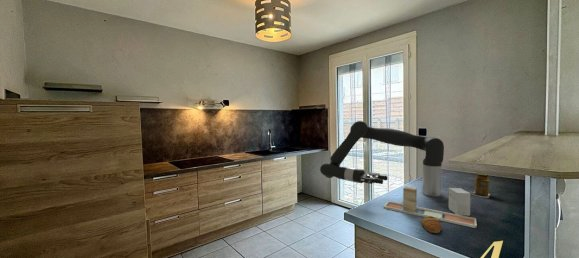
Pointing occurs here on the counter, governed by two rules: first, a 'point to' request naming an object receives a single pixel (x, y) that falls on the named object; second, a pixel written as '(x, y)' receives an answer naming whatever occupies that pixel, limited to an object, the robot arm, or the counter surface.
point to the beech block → (409, 198)
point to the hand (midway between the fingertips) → (385, 180)
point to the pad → (433, 214)
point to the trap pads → (444, 218)
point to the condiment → (481, 185)
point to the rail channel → (434, 216)
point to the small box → (459, 201)
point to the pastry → (431, 224)
